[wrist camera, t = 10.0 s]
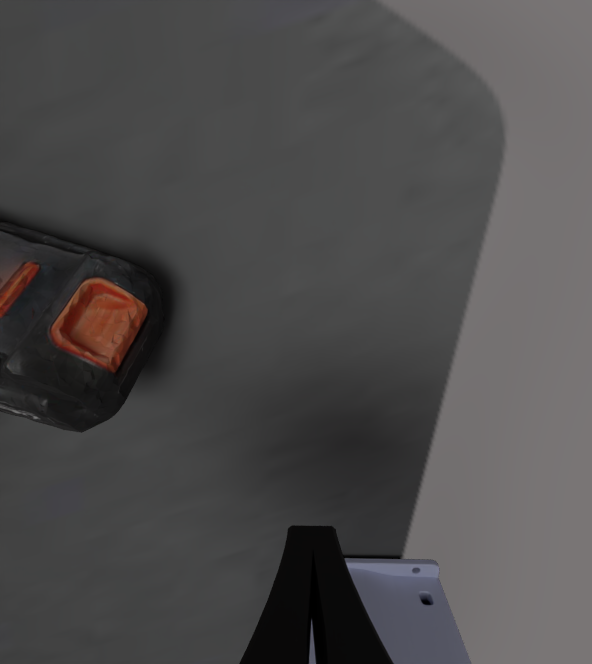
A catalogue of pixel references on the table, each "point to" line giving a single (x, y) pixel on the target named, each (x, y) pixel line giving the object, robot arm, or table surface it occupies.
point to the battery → (71, 329)
